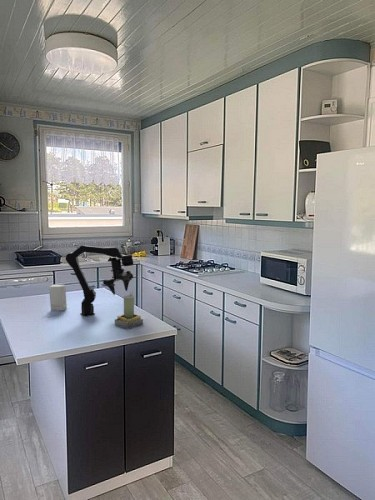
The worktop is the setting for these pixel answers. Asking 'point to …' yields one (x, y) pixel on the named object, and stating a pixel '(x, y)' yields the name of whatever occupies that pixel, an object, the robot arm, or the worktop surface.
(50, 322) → the worktop surface
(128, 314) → the green and white bottle
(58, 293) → the skincare box
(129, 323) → the grey and tan tray
